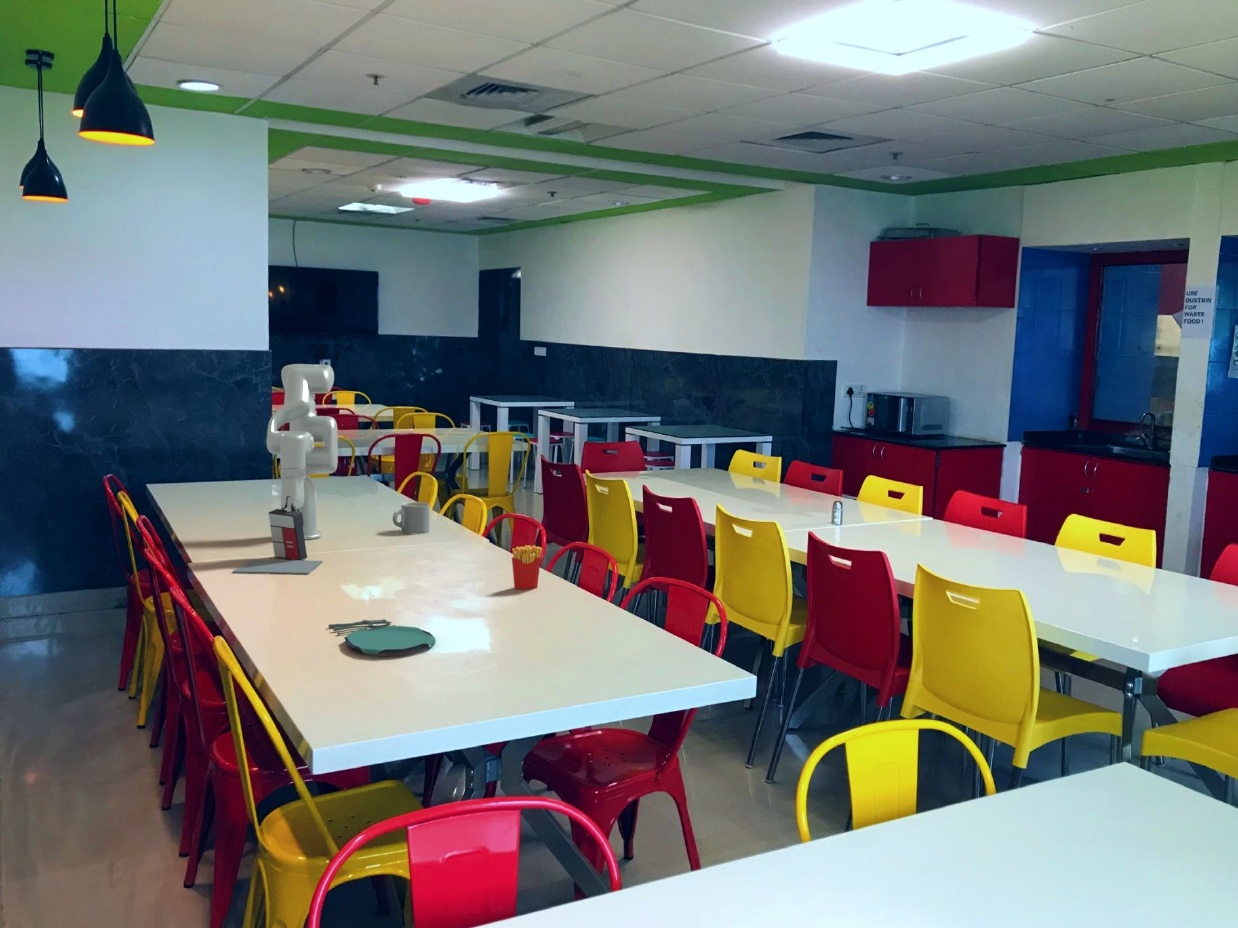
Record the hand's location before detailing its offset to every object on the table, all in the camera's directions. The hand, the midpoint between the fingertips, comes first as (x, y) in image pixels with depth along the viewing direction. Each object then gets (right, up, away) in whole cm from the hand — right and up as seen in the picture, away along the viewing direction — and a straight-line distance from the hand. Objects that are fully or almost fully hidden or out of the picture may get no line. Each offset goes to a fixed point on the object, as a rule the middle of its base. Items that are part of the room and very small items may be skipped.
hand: (294, 530), depth 320 cm
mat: (0, -10, -15) cm, 18 cm away
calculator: (0, -9, -2) cm, 9 cm away
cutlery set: (+47, -21, -82) cm, 97 cm away
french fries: (+76, -15, -31) cm, 84 cm away
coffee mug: (+28, -4, +45) cm, 53 cm away
